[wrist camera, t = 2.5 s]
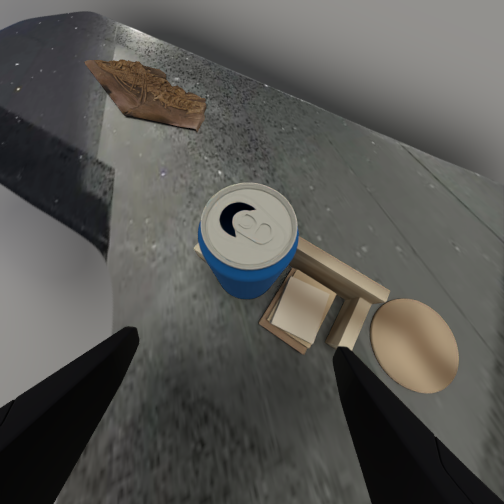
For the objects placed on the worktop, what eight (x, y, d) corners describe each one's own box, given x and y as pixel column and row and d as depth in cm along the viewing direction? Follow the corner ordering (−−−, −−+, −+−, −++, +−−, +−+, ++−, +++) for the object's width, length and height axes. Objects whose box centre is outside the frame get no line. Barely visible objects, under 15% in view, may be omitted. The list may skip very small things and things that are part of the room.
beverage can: (238, 236, 24) (233, 161, 13) (283, 263, 23) (322, 208, 12) (207, 280, 22) (168, 237, 11) (255, 311, 21) (270, 301, 10)
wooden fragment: (223, 113, 31) (222, 106, 30) (173, 152, 28) (170, 146, 27) (119, 48, 36) (115, 40, 35) (66, 76, 33) (60, 68, 32)
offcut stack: (300, 352, 20) (312, 359, 16) (257, 323, 21) (260, 323, 17) (329, 295, 22) (345, 290, 19) (290, 270, 23) (298, 261, 19)
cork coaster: (442, 412, 19) (446, 414, 18) (357, 355, 20) (359, 356, 20) (463, 329, 21) (467, 329, 21) (386, 283, 23) (389, 283, 22)
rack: (335, 349, 20) (363, 358, 15) (199, 257, 23) (188, 241, 18) (358, 297, 22) (390, 290, 17) (231, 218, 25) (228, 193, 20)
